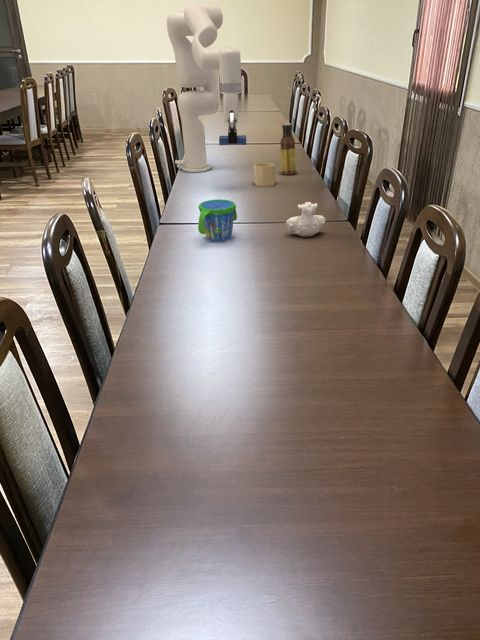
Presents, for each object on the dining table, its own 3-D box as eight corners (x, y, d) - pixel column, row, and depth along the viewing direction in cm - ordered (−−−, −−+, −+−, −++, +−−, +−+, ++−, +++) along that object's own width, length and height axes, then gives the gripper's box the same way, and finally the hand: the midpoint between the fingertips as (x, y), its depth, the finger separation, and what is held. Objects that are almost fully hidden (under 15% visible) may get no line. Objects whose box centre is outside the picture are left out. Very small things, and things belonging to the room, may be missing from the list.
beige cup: (255, 186, 212) (254, 167, 208) (254, 182, 219) (253, 162, 215) (275, 186, 212) (275, 166, 208) (273, 181, 219) (273, 162, 215)
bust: (286, 243, 161) (292, 221, 150) (282, 222, 163) (287, 199, 153) (325, 240, 163) (333, 218, 152) (320, 219, 165) (328, 196, 155)
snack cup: (213, 249, 152) (210, 213, 146) (187, 241, 158) (184, 207, 152) (249, 234, 162) (248, 201, 157) (224, 228, 168) (222, 195, 163)
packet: (219, 145, 198) (219, 138, 197) (219, 142, 203) (219, 135, 202) (246, 144, 198) (246, 137, 197) (246, 142, 203) (245, 135, 202)
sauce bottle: (296, 172, 233) (296, 122, 223) (295, 175, 227) (295, 125, 217) (281, 172, 233) (280, 122, 223) (279, 175, 228) (279, 125, 218)
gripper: (220, 86, 198) (223, 138, 208) (219, 91, 184) (222, 146, 193) (241, 85, 198) (242, 137, 208) (241, 90, 184) (243, 146, 193)
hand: (232, 141), depth 200 cm, fingers closed on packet, 5 cm apart
